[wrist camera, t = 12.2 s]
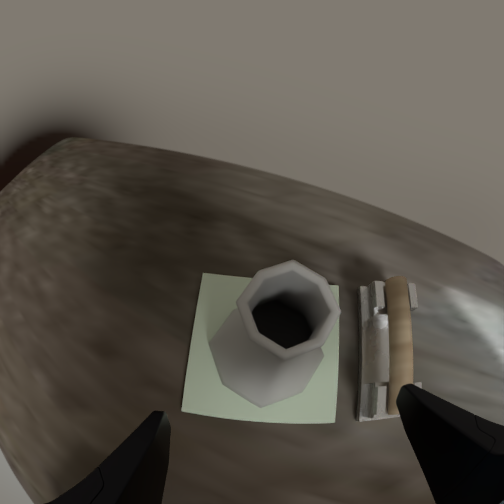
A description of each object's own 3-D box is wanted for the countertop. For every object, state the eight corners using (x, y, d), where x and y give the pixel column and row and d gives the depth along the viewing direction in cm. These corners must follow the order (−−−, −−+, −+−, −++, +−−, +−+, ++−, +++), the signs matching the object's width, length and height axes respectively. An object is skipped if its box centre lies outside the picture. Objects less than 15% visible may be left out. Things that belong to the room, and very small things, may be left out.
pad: (332, 422, 15) (334, 422, 15) (182, 410, 15) (181, 411, 15) (336, 287, 20) (338, 285, 19) (203, 275, 20) (203, 272, 20)
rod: (403, 411, 13) (416, 411, 12) (383, 414, 13) (395, 415, 12) (399, 286, 18) (410, 277, 16) (381, 284, 18) (391, 275, 16)
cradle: (399, 415, 15) (421, 416, 12) (355, 420, 15) (374, 424, 12) (396, 291, 20) (414, 276, 17) (357, 289, 20) (372, 272, 17)
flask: (190, 340, 17) (135, 284, 9) (274, 281, 20) (296, 184, 11) (257, 426, 15) (272, 467, 6) (340, 357, 17) (426, 315, 8)
